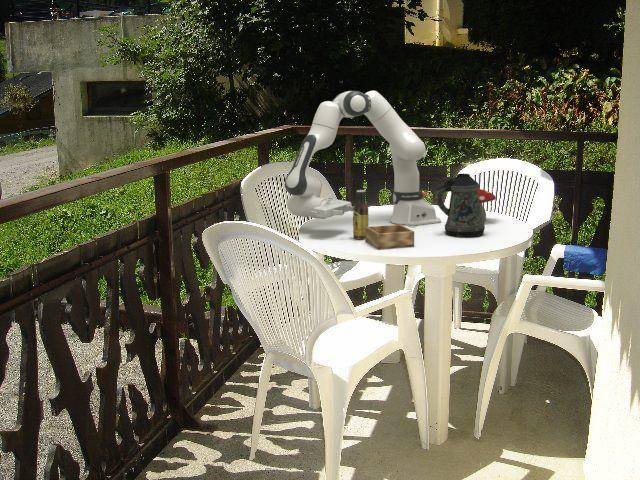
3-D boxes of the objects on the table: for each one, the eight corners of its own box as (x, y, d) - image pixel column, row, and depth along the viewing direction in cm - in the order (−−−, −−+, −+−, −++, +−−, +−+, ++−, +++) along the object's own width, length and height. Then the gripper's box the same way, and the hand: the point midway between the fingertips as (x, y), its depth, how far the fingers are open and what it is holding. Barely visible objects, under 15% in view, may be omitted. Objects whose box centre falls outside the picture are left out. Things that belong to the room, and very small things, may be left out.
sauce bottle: (352, 237, 322) (351, 189, 317) (367, 236, 322) (367, 189, 318) (354, 240, 315) (354, 192, 311) (369, 239, 316) (369, 191, 312)
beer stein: (492, 235, 321) (494, 175, 315) (454, 240, 312) (455, 178, 307) (468, 228, 335) (469, 170, 330) (430, 233, 327) (431, 174, 321)
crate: (400, 238, 317) (400, 224, 316) (414, 246, 303) (414, 231, 301) (365, 241, 313) (365, 226, 312) (377, 249, 299) (377, 234, 298)
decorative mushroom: (467, 226, 340) (468, 192, 336) (453, 219, 355) (454, 186, 351) (501, 223, 343) (502, 190, 340) (486, 217, 358) (487, 185, 355)
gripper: (306, 204, 318) (335, 207, 311) (334, 197, 335) (361, 199, 327) (307, 219, 320) (335, 223, 312) (334, 211, 336) (361, 214, 328)
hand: (349, 211), depth 320 cm, fingers open, 8 cm apart
